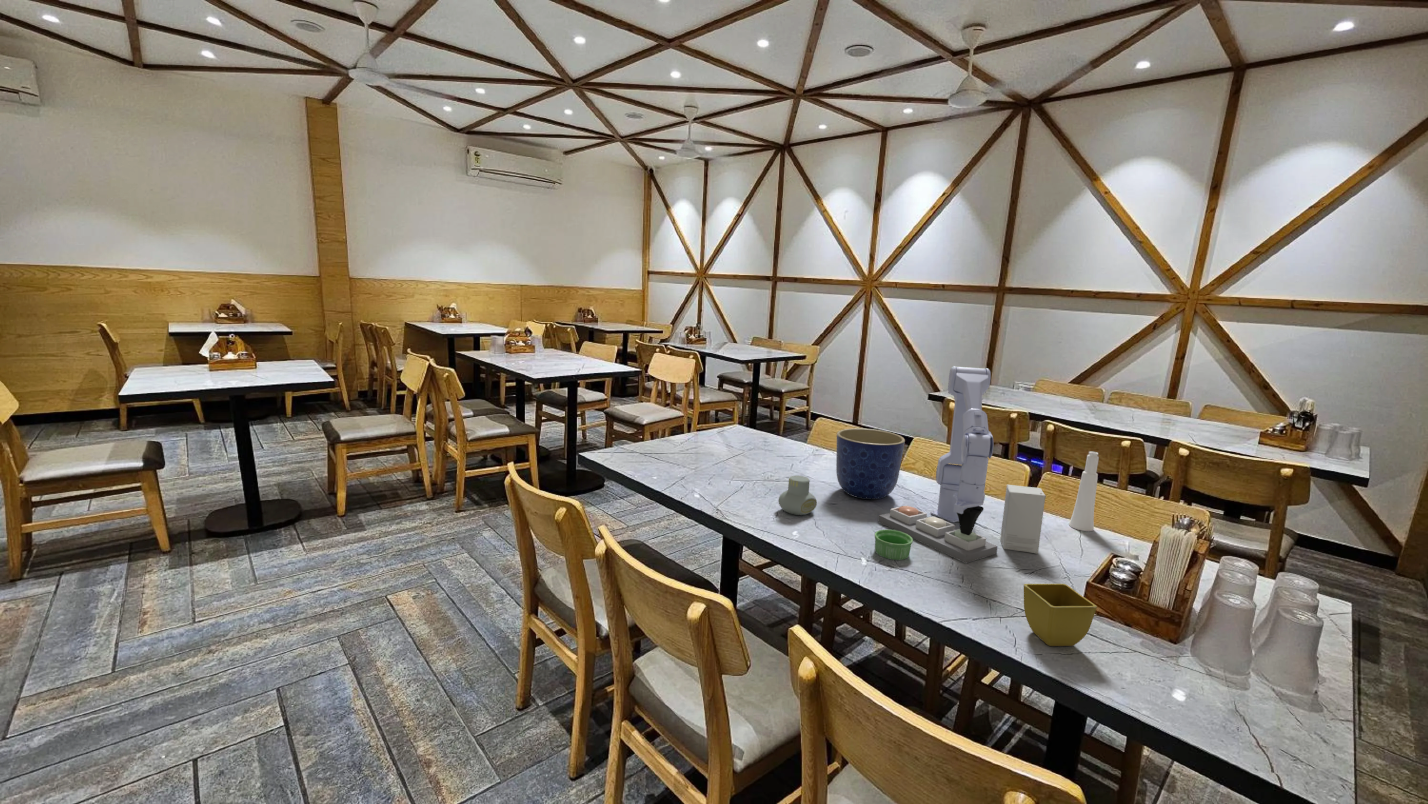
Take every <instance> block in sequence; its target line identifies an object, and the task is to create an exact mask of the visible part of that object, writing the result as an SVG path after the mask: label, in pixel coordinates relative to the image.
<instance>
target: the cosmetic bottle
mask: <svg viewBox="0 0 1428 804" xmlns="http://www.w3.org/2000/svg"><path fill="white" fill-rule="evenodd" d="M1099 459H1100V457H1099V452H1096V451H1088V454H1087V455H1086V461H1085V467H1084V470H1083V471H1082V473H1081V477H1080V482H1079V486H1078V491H1077V496H1076V501H1075V504H1074V507H1073V512H1072V515H1071V518H1070V520H1069V523H1068V525H1069V527H1070V528H1072V529H1075V530H1078V531H1082V532H1092V531H1094V530H1095V524H1094V523H1095V522H1094V520H1095V519H1094V518H1095V516H1094V515H1095V506H1096V505H1095V503H1096V495H1097V487H1098V476H1099V474H1098V472H1097V471H1098V466H1099Z"/></svg>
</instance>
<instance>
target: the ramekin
mask: <svg viewBox="0 0 1428 804" xmlns="http://www.w3.org/2000/svg"><path fill="white" fill-rule="evenodd" d="M874 539H875V540H874V542H875V543H874V551H875V553H876V554H877V555H878V556H880V557H883V558H885V559H888V560H892V561H901V560H906V559H907V558H908V557H909V556H910V553H911V547H912V545H913V542H914V539H913V538H912V537H911V536H909V535H908V534H906V533H903V532H900V531H896V530H894V529H880V530H877V531H876V532H875V533H874Z"/></svg>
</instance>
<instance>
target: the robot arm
mask: <svg viewBox="0 0 1428 804" xmlns="http://www.w3.org/2000/svg"><path fill="white" fill-rule="evenodd" d="M991 374H992V373H991V370H990V369H989V368H987V367H984V368H983V367H980V368H979V367H969V366H968V367H966V366H956V365H952V367H950V369H949V375H948V385H947V392H948V393H947V394H950V395H952V396H953V400H954V408H953V417H952V425H951V426H952V427H951V436H950V445H949V451H948V452H946V453H945V454H943V455H941V456H940V457H939V459H938V460H937V467H936V471H935V480H936V481H935V482H936V483H937V485H940V488H939V496H938V503H937V510H933V511H930V514H931V515H933V516H934V517H937V518H940V519H943V520H944V521H947V522H949V523H952V524H954V523H959V529H960V531H961V533H963V534H966V535H970V534H971V533H972V532H973V531H974V527H975V525H976V522H977V521H978V518H979V517H980V516H981V514H982V513H983V511H984V507H983V505H984V501H985V499H986V498H985V497H986V493H985V489H986V480H987V472H988V466H989V465H988V464H989V459H991V458H992V456H993V454H994V453H993V452H994V437H993V434H992V432H991V431H989V421H988V414H987V413H986V412H985V411H984V410H983V409H982V408H983V405H982V404H983V395H984V394H985V393H986V392H987V391H988V389H989V388H990V385H991Z"/></svg>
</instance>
